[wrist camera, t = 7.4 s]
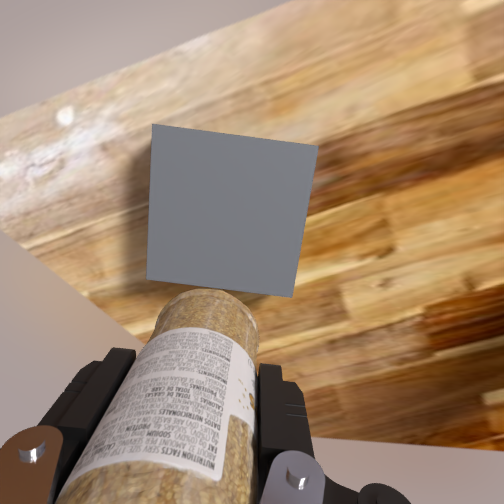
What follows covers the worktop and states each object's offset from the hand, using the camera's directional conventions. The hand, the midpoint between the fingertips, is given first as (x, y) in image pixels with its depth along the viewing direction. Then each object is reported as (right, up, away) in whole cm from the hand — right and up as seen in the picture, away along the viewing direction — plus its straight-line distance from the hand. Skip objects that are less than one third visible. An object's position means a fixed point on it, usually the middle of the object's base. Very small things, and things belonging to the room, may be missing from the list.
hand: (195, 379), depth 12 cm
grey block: (0, +9, +24) cm, 26 cm away
